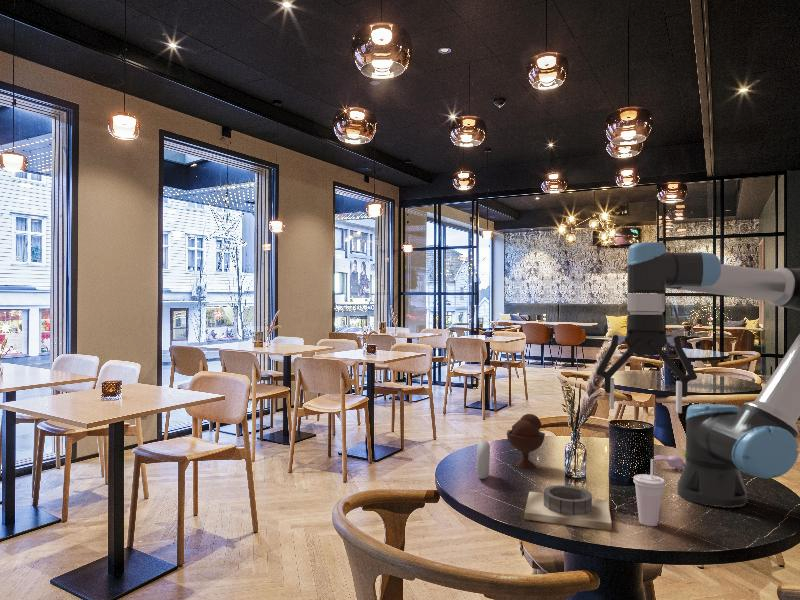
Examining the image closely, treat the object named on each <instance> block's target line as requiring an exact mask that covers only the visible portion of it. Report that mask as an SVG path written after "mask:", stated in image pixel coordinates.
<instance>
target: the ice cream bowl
mask: <svg viewBox="0 0 800 600" xmlns="http://www.w3.org/2000/svg"><path fill="white" fill-rule="evenodd" d="M541 427H542V422H541V420H540V418H539V417H538V416H537V415H536V414H533V413H526V414H524V415H522V416H521V418H520V419H519V420H517V421H515V423H514V424H513V425H512V426H511V429H508V430H507V432H506V436H507V440H508V443H509V444H510V445H511V446H512V447H513V448H515V449H516V450H518V451H519V452H521V454H522V455H521V456H522V457H521V458H522V459H520V460H518V461H517V462H516V464H515V466H516V467H517V468H520V469H529V470H530V469H534V468H535V467H536V464H535V463H533V461H531V460H529V454H530V452H531V453H532V452H534V451H536V450H538V449H539V448H540V447H541V446H542V445H543V443H544V440H545V437H546V433H545V432H542V431H541V430H540V428H541Z"/></svg>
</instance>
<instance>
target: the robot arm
mask: <svg viewBox="0 0 800 600" xmlns="http://www.w3.org/2000/svg"><path fill="white" fill-rule="evenodd" d="M626 266H627V308H626V309H627V311H628V312H629V314H627V316H626V317H627V318H626V319H627V320H626V324H627V325H626V334H625V335H620V334H619V335H618V334H616V333H614V334H612V335H611V342H610V345H609V347H608V348H607V351H606V352H605V354H604V356H603V358H602V360H601V361H600V363H599V365H598V367H597V369H596V371H595V373H596V375H597V376H600V377H602V378H604V392H605V394H609V409H610V410H614V409H615V377H613V376H614V375H615V374H616V372H617V371H618V370H619V369H620V368H621V367H622V366H623V365H624V364H625V363H626V362H627V361H628V360H629V359H630V358H631V357H632V356H633V355H636V356H638V357H639V356H640V357H643V356H649V357H655V356H656V355H658V356H659V358H660V359H662V361H664V363H665V364H666V365H667V367H668V368H669V369H671V371H672V372H673V373H674V374H675V375H676V376H677V377H678V379H679V380H676V381H675V411H676V412H677V414H682V413H683V398H687V396H688V384H689V382H690V381H694V380H695V381H696V380H697V379H698V375H697V373H696V371H695V370H694V368H693V365H692V364H691V362H690V360H689V358H688V356H687V354H686V353H685V351H684V349H683V347H682V340H681V336H678V335H673V336H668V337H667V336H666V335H665V315H664V314H663V313H664V312H665V311H666V310H665V309H666V308H665V303H666V301H665V297H666V296H665V293H666V292H665V291H666V289H670V290H671V289H672V290H679V291H686V292H687V291H688V292H697V293H704V294H713V295H718V296H719V295H721V296H728V297H735V298H745V299H751V300H758V301H759V300H760V301H767V302H768V303H769V304H770V305H772V306H774V307H781V308H787V309H792V310H796V311H800V267H799V268H788V267H777V268H775V269H774V270H772V269H771V270H770V269H762V268H755V267H749V266H739V265H732V264H725V263H721V261H720V259H719V257H718V256H717V255H716V254H714V253H712V252H711V253H710V252H702V251H699V252H670V251H667V250H666V245H665V243H663V242H658V241H657V242H656V241H655V242H654V241H651V242H650V241H649V242H648V241H645V242H636V243H632V244H631V245H630V246H629V247H628V253H627V262H626ZM623 342H625V343H626V345H627V346H628V348H627V349H626V350H625V351H624V352H623V354H621V356H620V357H619V358H618V359H617V360H616V361H615V362H614V363H613V364H612V365H611V366H610V368H608V369H607V371H605V370H606V368H607V365H608V364H609V363H610V361H611V358H612V357H613V355H614V353H615V351H616V350H617V348H618V346H619V345H622V343H623ZM667 343H668V344H669V346H671V347H673V348H674V351H675V353H676V355H677V356H678V358H679V360H680V362H681V365H683V367H684V370H685V371H686V374H685V373H683V372H682V371H681V369H680V368H679V367H678V366H677V365H676V364H675V362H674V361H673V360H672V359H671V358H670V356H668V354H667V353H666V352H665V351H664V350H663V348H664V346H665V345H666V344H667ZM799 419H800V333H799V334H798V336H796V338H795V340H794V342H792V344H791V346H790V348H789V349H788V351H787V352H786V353H785V355H783V358H782V359H781V361H780V362H779V363H778V366H777V367H776V369H775V370H774V372H773V374H771V376H770V377H769V379H768V380H767V382H766V383H765V385H764V386H763V388H762V389H761V391H760V393H759V394H758V396H757V397H756V399H755V400H753V401H748V402H747V401H746V402H744V403H743V404H742V406H741V407H740V406H738V405H733V404H719V403H718V404H715V403H714V404H712V403H699V404H698V403H697V404H690V405H689V406H688V407H687V409H686V416H685V423H686V424H685V425H686V426H685V428H686V430H685V431H686V432H685V434H686V435H685V452H686V458H685V462H686V463H685V466H684V467H683V468H682V471H681V474H680V476H679V479H678V480H677V481H678V482H677V488H676V489H677V490H676V491H677V494H678V495H679V496H680V497H682V498H683V499H685V500H687V501H689V502H692V501H693V502H692V503H695V502H697V503H696V504H698V503H701V504H700V505H702V504H708V505H721V506H735V505H740V504H744V503H746V502H747V503H748V492H747V489H746V485H745V482H744V480H743V476H742V475H741V472H742V473H743V474H745V475H749V476H753V477H756V478H760V479H767V480H768V479H775V478H779V477H781V476H783V475H785V474H787V473H788V472H789V471H790V470H791V469H792V468H793V467H794V466H795V464H796V462H797V460H798V457H799V451H798V448H799V444H798V441H797V439H796V438H797V437H798V435H799V432H800V431H799V429H798V426H797V421H798V420H799Z"/></svg>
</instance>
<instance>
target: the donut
mask: <svg viewBox="0 0 800 600" xmlns="http://www.w3.org/2000/svg"><path fill="white" fill-rule="evenodd" d="M476 448H477V449H476V469H475V470H476V475H477V477H478V478H479V479H480V480H485V479H487V478H488V477H489V475H490V460H491V459H490V453H491V449H490V448H491V445H490V443H489V442H488V441H487V440H480V441H479V442H478V443H477V447H476Z"/></svg>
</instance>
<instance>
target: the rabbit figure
mask: <svg viewBox="0 0 800 600" xmlns="http://www.w3.org/2000/svg"><path fill="white" fill-rule="evenodd" d="M683 456H684V458H685V459H686V451H684V453H683ZM653 457H654V461H657V460H659V461H660V460H661V461H665V462H667V464H668V466H669V467H671V468H674V469H675V470H677V471H681V470H683V468H684V466H685V463H686V461H684V460H683V459H682V457H680V456H678V455H670V456H667V455H663V454H662V455H661V454H659V455H658V454H656V455H655V456H653Z"/></svg>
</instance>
